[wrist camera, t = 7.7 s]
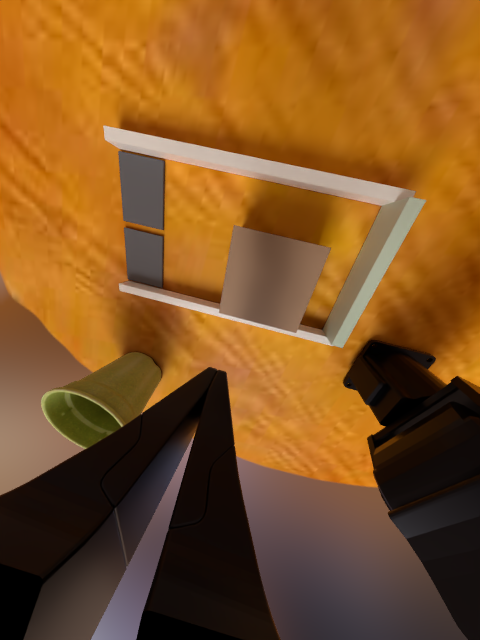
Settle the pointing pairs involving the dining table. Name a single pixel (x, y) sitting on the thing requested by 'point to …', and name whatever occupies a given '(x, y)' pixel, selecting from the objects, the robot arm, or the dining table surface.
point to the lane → (386, 227)
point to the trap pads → (143, 216)
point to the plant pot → (102, 399)
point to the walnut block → (270, 278)
